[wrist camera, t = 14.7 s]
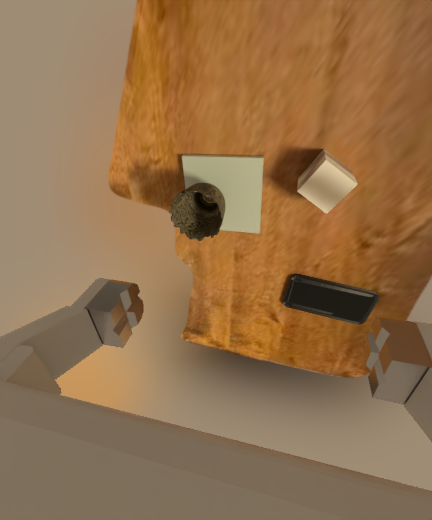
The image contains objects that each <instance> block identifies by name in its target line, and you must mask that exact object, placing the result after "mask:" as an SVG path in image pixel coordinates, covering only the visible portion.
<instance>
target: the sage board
mask: <svg viewBox="0 0 432 520" xmlns="http://www.w3.org/2000/svg"><path fill="white" fill-rule="evenodd" d="M263 162H264V156H238V155H196V154H184V155H182V163H183V172H184V181H185V189H187V188H188V187H190V186H192V185H194V184H197V183H209V184H212V185H214V186H216V187H217V188H218V189H219V190H220V191H221V192H222V194H223V196H224V199H225V205H226V207H225V214H224V218H223V222H222V226H221V228H220V230H226V231H238V232H249V233H259V232H260V219H261V200H262V181H263ZM207 198H208V199H212V198H211V197H207Z"/></svg>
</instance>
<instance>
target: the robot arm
mask: <svg viewBox="0 0 432 520" xmlns="http://www.w3.org/2000/svg"><path fill="white" fill-rule="evenodd" d="M139 292H140V290H139V287H138V285H137V284H135V283H129V282H123V281H117V280H109V279H103V278H99V279H97V280H95V281H94V282H93V284H92V285H91V286H90V287H89V288H88V289H87V290H86V291H85V292H84V293H83V294H82V295H81V296H80V297H79V298H78V299H77V300H76V302H75V303H74V304H73V305H72V306H66V307H64V308H62V309H60V310H57V311H55V312H53V313H51V314H49V315H47V316H44V317H42V318H40V319H38V320H36V321H34V322H32V323H30V324H27V325H25V326H23V327H21V328H19V329H16V330H14V331H12V332H10V333H8V334H6V335H4V336H1V337H0V520H432V491H430V490H426V489H422V488H418V487H414V486H410V485H406V484H402V483H398V482H395V481H391V480H387V479H383V478H379V477H375V476H372V475H368V474H363V473H360V472H356V471H352V470H348V469H344V468H341V467H337V466H332V465H328V464H325V463H321V462H317V461H314V460H309V459H306V458H302V457H298V456H294V455H290V454H286V453H282V452H278V451H275V450H271V449H267V448H263V447H259V446H256V445H252V444H247V443H244V442H240V441H236V440H232V439H228V438H225V437H221V436H217V435H213V434H209V433H205V432H201V431H198V430H194V429H190V428H186V427H182V426H178V425H174V424H170V423H166V422H163V421H159V420H155V419H151V418H147V417H143V416H139V415H136V414H132V413H128V412H124V411H120V410H116V409H112V408H108V407H104V406H101V405H97V404H93V403H89V402H85V401H81V400H77V399H73V398H69V397H66V396H61V395H60V394H61V388H60V387H59V386H58V384H57V383H56V381H55V379H57V378H58V377H60V376H61V375H62V374H64V373H65V372H66V371H68V370H69V369H71V368H72V367H73V366H75V365H76V364H78V363H79V362H80V361H82V360H83V359H84V358H86V357H87V356H89V355H90V354H91V353H93V352H94V351H96V350H97V349H98V348H100V347H101V346H102V344H104V345H110V346H116V347H122V348H123V347H124V346H125V344H126V343H127V341H128V339H129V337H130V336H131V335H132V329H131V328H132V327H134V326H136V325H137V324H138V323H139V321H140V320H141V318H142V314H143V301H142V300H141V299H140V298H139V297H138V294H139ZM371 326H372V331H373V332H372V333H370V334H368V335H367V337H366V340H365V345H364V359H365V364H366V365H367V366H368V368H369V369H370V370H371V372H370V374H369V377H368V379H369V384H370V388H371V393H372V397H373V398H376V399H381V400H386V401H390V402H394V403H399V404H403V405H404V407H405V408H406V409H407V411H408V412H409V413H410V414H411V416H412V417H413V418H414V420H415V421H416V422H417V423H418V425H419V426H420V427H421V428H422V430H423V431H424V432H425V434H426V435H427V436H428V437H429V439H430V440H431V441H432V324H426V323H419V322H410V321H403V320H395V319H388V318H380V317H376V318H375V319H374V320H373V322H372V325H371Z"/></svg>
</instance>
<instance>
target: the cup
mask: <svg viewBox="0 0 432 520" xmlns="http://www.w3.org/2000/svg"><path fill="white" fill-rule="evenodd" d="M207 197H211V198H212V199H208V198H207ZM171 205H172V208H171V209H170V211H169V213H173V214H172V216H171V220H172V221H173V222H174V226H175V227H178V228H179V227H180V233H181V234H182V233H186V235H187V237H188V238H189V239H198V240H199V241H201V240H203V238H204V237H209V236H211V238H212V237H213V236H214V235H217V234H218V232H219V230H220V228H221V226H222V222H223V218H224V214H225V207H226V205H225V199H224V196H223V194H222V192H221V191H220V190H219V189H218V188H217V187H216V186H214V185H212V184H209V183H197V184H194V185H192V186H190V187H188V188H187V189H185V190H184V191H183V192H181V193H180V194H178V195H177V196H176V197H175V198H174V199H173V200H172V202H171Z"/></svg>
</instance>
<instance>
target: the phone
mask: <svg viewBox="0 0 432 520" xmlns="http://www.w3.org/2000/svg"><path fill="white" fill-rule="evenodd" d="M378 301H379V296H378V294H377V293H376V292H374V291H370V290H366V289H362V288H357V287H353V286H349V285H344V284H340V283H336V282H331V281H327V280H322V279H318V278H314V277H309V276H305V275H301V274H294V275H292V276H291V278H290V281H289V284H288V287H287V290H286V293H285V296H284V299H283V304H284V305H285V306H286V307H289V308H293V309H297V310H301V311H305V312H309V313H313V314H317V315H321V316H325V317H329V318H333V319H337V320H341V321H345V322H349V323H353V324H363V323H364V322H365V321H366V320H367V318H368V316H369V315H370V313H371V312H372V310H373V309H374V307H375V305H376V304H377V302H378Z"/></svg>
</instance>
